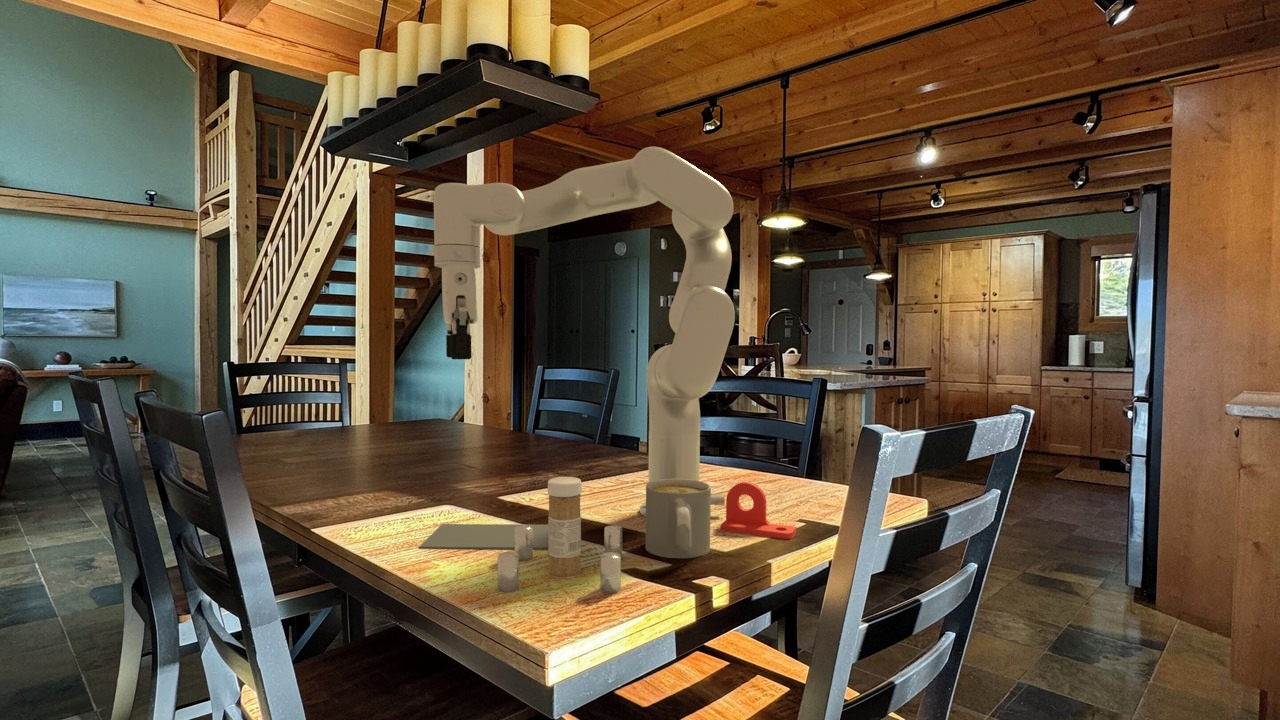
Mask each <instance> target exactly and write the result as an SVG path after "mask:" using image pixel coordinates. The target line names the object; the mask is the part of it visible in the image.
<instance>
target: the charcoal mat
mask: <svg viewBox="0 0 1280 720" xmlns="http://www.w3.org/2000/svg"><path fill="white" fill-rule="evenodd" d="M520 525H527V524H525V523H524V524H521V523H520V524H518V523H517V524H505V523H503V524H502V523H501V524H497V523H494V524H492V523H489V524H488V523H487V524H485V523H484V524H483V523H481V524H480V523H442V524H440V525H439V527H438V528H437V529H436V530H434V531H433V533H431V535H430V536H428V537H427V538H426V539H425V540H424V541H423V542H422V544H420V545H419V548H418V549H431V550H432V549H439V550H441V549H442V550H447V549H450V550H514V551H515V527H516V526H520ZM529 525H530V526H533V551H536V550H537V551H548V524H529Z"/></svg>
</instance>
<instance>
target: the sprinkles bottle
mask: <svg viewBox="0 0 1280 720" xmlns="http://www.w3.org/2000/svg"><path fill="white" fill-rule="evenodd" d="M547 494H548V496H547V497H548V516H547V518H548V523H547V525H548V550H547V551H548V576H549V577H551V578H554V579H572V578H576V577H578V576H580V575H581V573H582V571H581V553H582V549H581V548H582V541H581V540H582V515H581V494H582V480H581V479H580V478H579V477H574V476H558V477H553V478H549V480H548V481H547Z"/></svg>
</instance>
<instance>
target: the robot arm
mask: <svg viewBox="0 0 1280 720" xmlns="http://www.w3.org/2000/svg"><path fill="white" fill-rule="evenodd" d="M656 202H660V203H661V204H663V205H665V206H666V207H668V208H669V209H671V210H672V212H671V221H672V226H673V227H674V229H675V231H676V233H677V234H678V235H679V236H680V238H681V239H682V241H683V242H682V243H683V244H684V245H685V246H684V247H685V251H686V252H685V253H686V255H685V256H686V258H685V262H684V267H683V270H682V273H681V277H680V281H678V282H679V284H678V286H677V288H676V292H675V295H674V298H673V301H672V303H671V305H670V308H669V311H668V313H669V314H668V321H669V325H670V328H671V329H672V331H673V332H674V333H675V334H674V338H673V341H672V344H667V345H664V346H662V347H660V348H658V349H657V350H656V351H654V353H653V354H652V355H651V357H650V358H649V361H648V363H647V368H646V385H647V387H646V388H647V396H648V397H647V398H648V413H649V414H648V417H649V418H648V419H649V420H648V422H649V423H648V483H649V482H652V481H656V480H662V479H689V480H697V481H700V457H701V456H700V454H701V453H700V451H701V450H700V447H701V409H700V408H701V407H700V398H702V397H704V396H706V394H708V393H709V392H710V391H711V389H712V388H713V386H714V385H715V383H716V381H717V378H718V376H719V373H720V371H721V367H722V364H723V361H724V359H725V355H726V352H727V349H728V347H729V346H728V345H729V342H730V339H731V337H732V334H733V330H734V326H735V319H736V317H735V315H736V311H735V306H734V303H733V301H732V299H731V297H730V296H729V295H728V293H726V292H725V290H726V288H727V284H728V280H729V275H730V273H731V269H732V268H731V267H732V259H733V258H732V256H733V255H732V249H731V244H730V242H729V239H728V236H727V234H726V232H725V229H724V227H725V226H727V224H729V222H730V221H731V219H732V217H733V214H734V200H733V198H732V195H731V194H730V192H729V191H728V189H727V188H726V187H725V186H724V185H723V184H721V182H719V181H718V180H716V179H714V178H713V177H712V176H710V175H708V174H707V173H705V172H703V171H702V170H701V169H699V168H697V167H696V166H695V165H693V164H691V163H689V162H688V161H687V160H685V159H684V158H681V157H680V156H678V155H676V154H675V153H673V152H672V151H669V150H668V149H665V148H663V147H659V146H648V147H644V148H642V149H641V150H640V151H638V152H637V153H636V154H635V156H634V157H633V158H631V159H625V160H620V161H615V162H608V163H603V164H598V165H592V166H585V167H580V168H576V169H574V170H571V171H569V172H567V173H565V174H563V175H562V176H561V177H558V178H557V179H556V180H553V181H552V182H550V183H547V184H545V185H542V186H538V187H535V188H532V189H527V190H522V191H521V190H519V189H518V188H517V187H516V186H514V185H513V184H510V183H507V182H506V183H505V182H493V183H492V182H491V183H483V184H467V183H461V182H445V183H440V184H439V185H437V186H436V187H435V188H434V191H433V230H434V231H433V233H434V234H433V235H434V236H433V237H434V238H433V240H434V242H433V243H434V247H433V248H434V251H433V252H434V254H433V255H434V267H435V268H440V269H441V290H442V297H441V298H442V312H443V321H444V322H443V323H445V324H447V328H446V331H447V333H446V335H445V336H446V337H445V340H446V341H445V343H446V345H445V346H446V347H445V348H446V350H445V351H446V354H445V355H446V357H447V358H451V359H452V360H471V358H472V334H471V325H474V324H476V323H477V322H478V303H477V302H478V301H477V281H476V280H477V279H476V270H475V269H479V268H481V235H480V234H481V225H484V226H485V228H486V229H487V230H488V231H490V232H491V233H492V234H496V235H498V236H511V235H517V234H521V233H522V234H523V233H527V232H528V233H529V232H532V231H537V230H541V229H542V230H543V229H545V228H549V227H553V226H558V225H561V224H566V223H571V222H576V221H578V220H579V221H580V220H582V219H585V218H590V217H595V216H599V215H604V214H610V213H615V212H621V211H623V210H624V211H625V210H631V209H635V208H636V209H637V208H641V207H645V206H649V205H652V204H654V203H656ZM725 500H726V498H725V495H724V494H717V493H716V492H714V493H713V492H711V505H712V506H725V503H726V502H725ZM639 513H640V514H641V515H642V516H643V517H644V518H646V502H644V503H641V505H640V506H639Z"/></svg>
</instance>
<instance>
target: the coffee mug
mask: <svg viewBox="0 0 1280 720" xmlns="http://www.w3.org/2000/svg"><path fill="white" fill-rule="evenodd" d="M645 485H646V487H645V503H646V517H645V550H646V551H647V552H648V553H650V554H652V555H655V556H658V557H662V558H667V559H668V558H669V559H693V558H700V557H702V556H705V555H707V554H709V552H710V551H711V507H712V506H711V493H712V492H711V490H712V489H711V488H712V487H711V485H710V484H709V483H707V482H705V481H700V480H699V481H697V480H689V479H662V480H656V481H652V482H649V481H648V482H647V484H645Z"/></svg>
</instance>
